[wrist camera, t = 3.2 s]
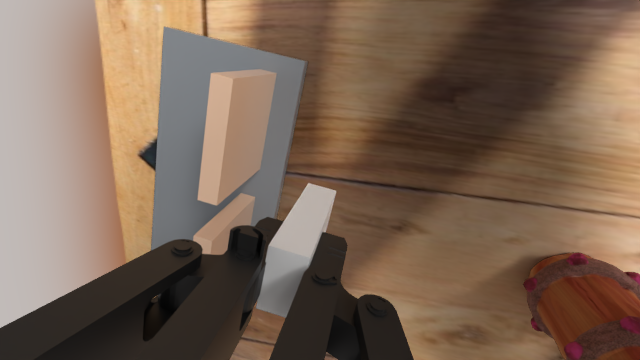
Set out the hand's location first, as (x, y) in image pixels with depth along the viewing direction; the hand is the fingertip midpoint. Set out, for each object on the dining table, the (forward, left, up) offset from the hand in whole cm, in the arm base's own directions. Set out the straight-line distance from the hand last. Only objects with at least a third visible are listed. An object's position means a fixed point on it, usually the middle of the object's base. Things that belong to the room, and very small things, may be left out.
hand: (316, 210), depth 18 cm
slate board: (+6, -12, -15) cm, 20 cm away
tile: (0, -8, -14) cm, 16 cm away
